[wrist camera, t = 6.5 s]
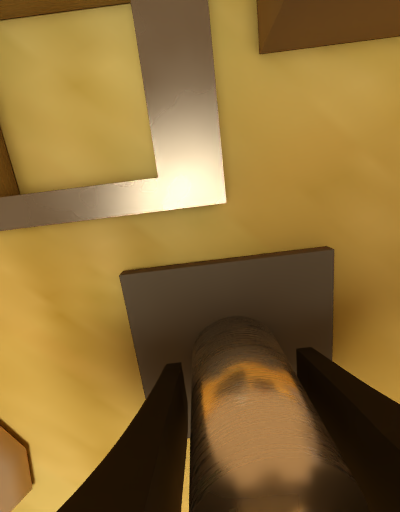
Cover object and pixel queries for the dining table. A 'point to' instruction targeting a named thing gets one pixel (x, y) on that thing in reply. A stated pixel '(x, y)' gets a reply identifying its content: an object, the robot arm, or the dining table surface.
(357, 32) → the button housing
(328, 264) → the rubber mat
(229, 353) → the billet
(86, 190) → the grey flat rectangular frame
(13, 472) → the flask
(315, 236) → the dining table surface
